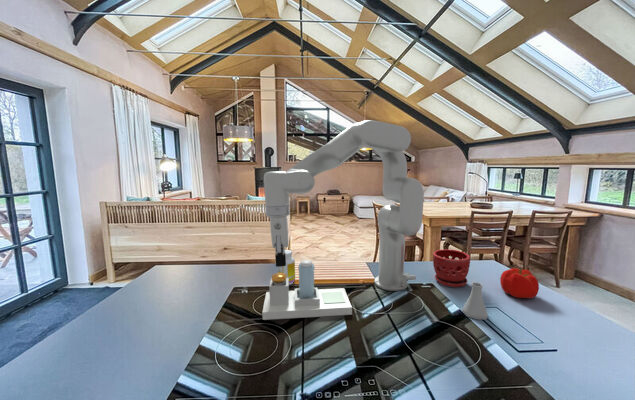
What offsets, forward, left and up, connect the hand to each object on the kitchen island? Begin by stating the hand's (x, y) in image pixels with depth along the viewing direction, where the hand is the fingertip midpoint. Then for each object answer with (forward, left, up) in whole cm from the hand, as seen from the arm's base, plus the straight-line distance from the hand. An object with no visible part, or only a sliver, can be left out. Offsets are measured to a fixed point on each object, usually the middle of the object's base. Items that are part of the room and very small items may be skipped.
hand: (281, 265), depth 87 cm
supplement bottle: (-1, -19, -15) cm, 24 cm away
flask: (-61, +10, -15) cm, 64 cm away
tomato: (-85, 0, -15) cm, 87 cm away
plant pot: (-66, -12, -15) cm, 69 cm away
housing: (-8, 0, -15) cm, 17 cm away
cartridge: (-8, 0, -12) cm, 15 cm away
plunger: (+1, 0, -12) cm, 12 cm away
